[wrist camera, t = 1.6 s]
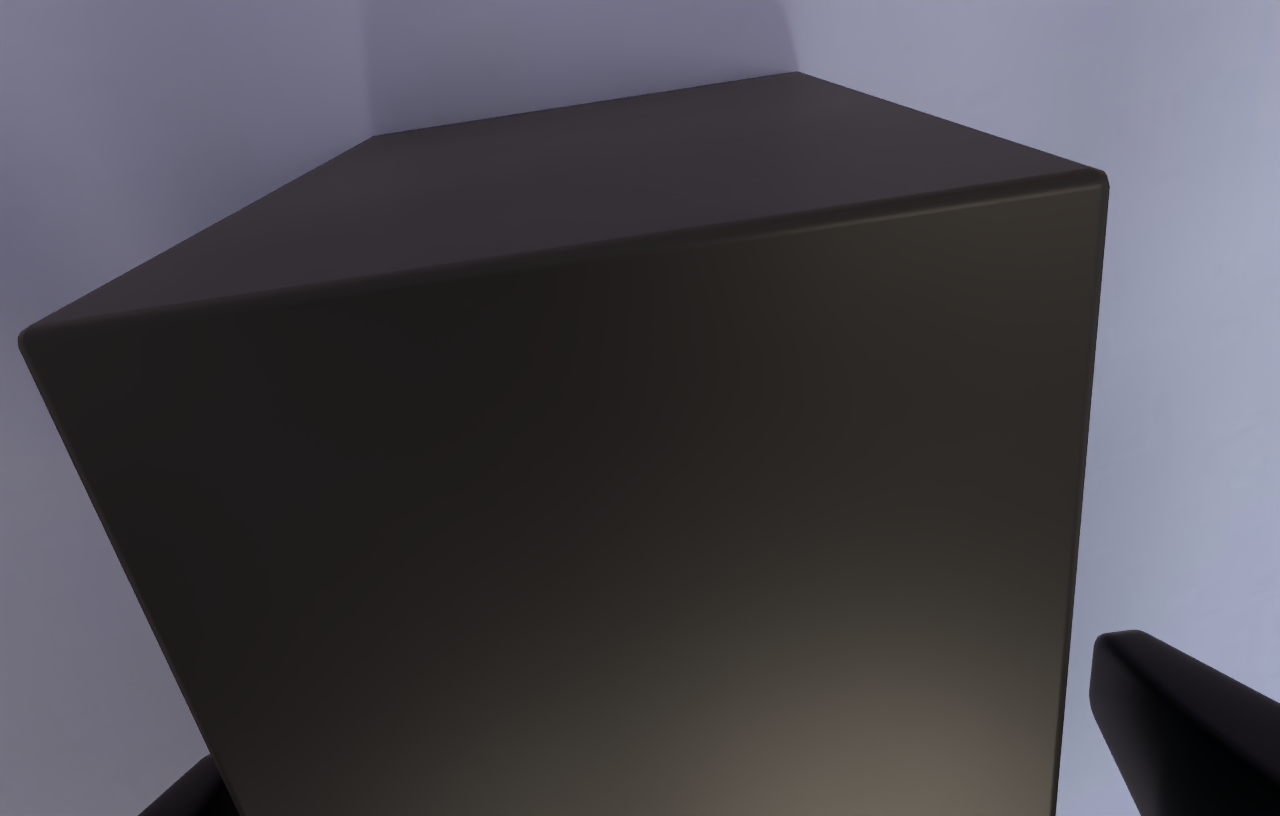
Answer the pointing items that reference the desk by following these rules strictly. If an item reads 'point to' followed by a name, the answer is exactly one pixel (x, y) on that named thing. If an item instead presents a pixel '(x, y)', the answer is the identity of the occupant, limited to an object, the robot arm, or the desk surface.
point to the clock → (613, 462)
